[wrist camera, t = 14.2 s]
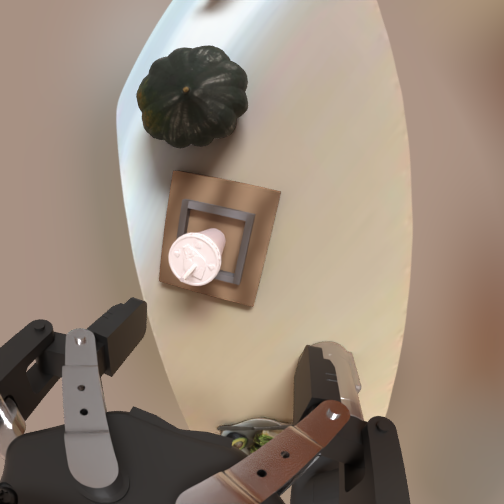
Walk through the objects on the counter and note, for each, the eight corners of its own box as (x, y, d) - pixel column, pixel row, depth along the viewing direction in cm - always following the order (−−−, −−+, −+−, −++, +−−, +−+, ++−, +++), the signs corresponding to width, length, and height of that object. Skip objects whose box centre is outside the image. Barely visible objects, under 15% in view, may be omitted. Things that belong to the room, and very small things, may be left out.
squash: (134, 60, 31) (101, 100, 23) (230, 24, 29) (236, 45, 21) (169, 128, 43) (157, 185, 35) (254, 101, 41) (269, 152, 32)
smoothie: (203, 266, 43) (168, 309, 29) (186, 228, 41) (142, 256, 28) (241, 252, 41) (220, 293, 28) (224, 212, 40) (193, 234, 26)
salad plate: (277, 400, 52) (276, 416, 48) (317, 438, 55) (318, 452, 50) (209, 424, 57) (205, 438, 53) (253, 457, 60) (251, 470, 55)
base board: (281, 191, 40) (280, 193, 37) (254, 301, 45) (252, 311, 42) (178, 170, 41) (169, 170, 37) (163, 276, 46) (155, 284, 43)
